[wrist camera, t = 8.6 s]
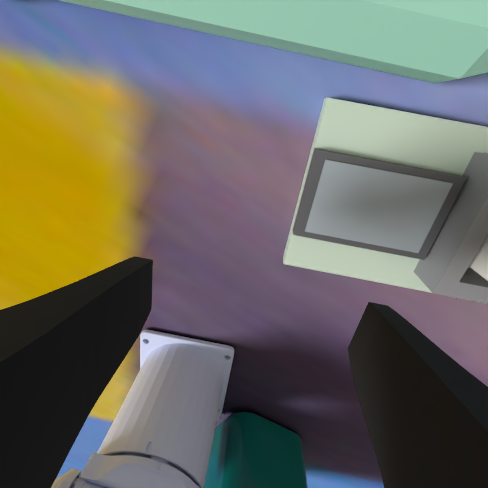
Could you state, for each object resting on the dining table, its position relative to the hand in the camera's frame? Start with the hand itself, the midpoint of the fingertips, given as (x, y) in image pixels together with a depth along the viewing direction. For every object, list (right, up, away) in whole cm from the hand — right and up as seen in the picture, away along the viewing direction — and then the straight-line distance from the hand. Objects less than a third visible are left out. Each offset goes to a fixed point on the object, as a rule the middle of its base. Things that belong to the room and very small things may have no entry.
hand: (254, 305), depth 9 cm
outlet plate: (+12, +4, +8) cm, 15 cm away
